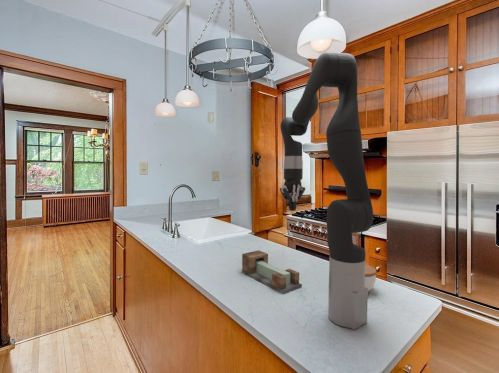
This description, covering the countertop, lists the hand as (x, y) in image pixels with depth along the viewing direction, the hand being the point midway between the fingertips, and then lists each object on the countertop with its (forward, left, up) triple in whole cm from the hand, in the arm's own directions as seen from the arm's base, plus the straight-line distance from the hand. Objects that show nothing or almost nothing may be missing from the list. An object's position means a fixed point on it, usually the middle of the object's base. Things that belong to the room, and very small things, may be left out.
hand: (292, 210), depth 107 cm
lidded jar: (-26, -6, -25) cm, 37 cm away
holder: (-1, +13, -25) cm, 28 cm away
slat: (0, +13, -24) cm, 27 cm away
